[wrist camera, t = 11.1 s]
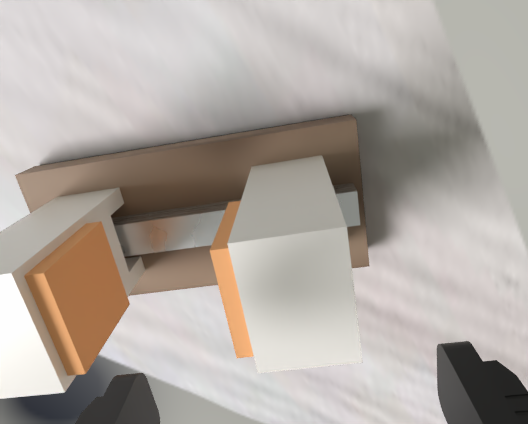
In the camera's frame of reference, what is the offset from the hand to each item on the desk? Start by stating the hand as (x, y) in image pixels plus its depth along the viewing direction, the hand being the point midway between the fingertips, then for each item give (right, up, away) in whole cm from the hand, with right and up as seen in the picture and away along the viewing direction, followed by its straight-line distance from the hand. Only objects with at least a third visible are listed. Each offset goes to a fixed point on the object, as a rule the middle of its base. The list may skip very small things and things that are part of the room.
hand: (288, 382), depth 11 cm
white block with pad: (+1, +5, +13) cm, 14 cm away
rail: (-5, +5, +15) cm, 17 cm away
